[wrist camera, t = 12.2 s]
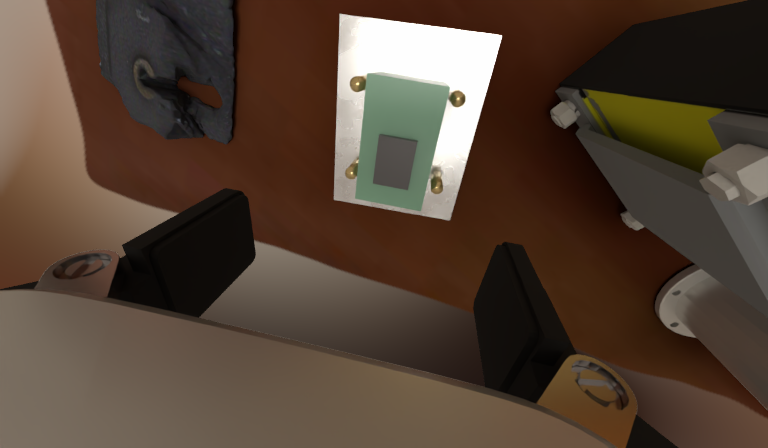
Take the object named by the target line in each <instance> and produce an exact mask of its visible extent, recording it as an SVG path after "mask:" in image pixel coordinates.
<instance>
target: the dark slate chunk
mask: <svg viewBox="0 0 768 448" xmlns="http://www.w3.org/2000/svg"><path fill="white" fill-rule="evenodd" d="M232 5H233V0H96V9H97V12H96V21H97V28H98V46H99V56H100V59H101V62H100V68H101V74H102V75H103V76H104V77H105V78H106V79H107V80H108V81H109V82H111V83H112V84H113V85H114V86H115V87H116V88H117V89H118V91H119V93H120V95H121V96H122V100H123V103H124V105H125V106H126V108H127V110H128V111H129V113H130V116H131V117H132V118H133V119H134V120H136V121H137V122H139V123H140V124H144V125H146V126H149V127H151V128H153V129H154V130H155V131H156V132H157V133H159V134H160V135H161V136H163V137H164V138H165V139H179V138H192V137H200V138H201V137H203V134H204V133H206V135H207V136H208V137H209V138H210V139H215V140H216V141H218V142H223V143H224V144H227V143H228V142H229V141H230V140H231V139H232V135H231V133H232V113H233V97H234V87H235V84H234V81H233V79H234V77H235V72H234V71H235V70H234V67H235V66H234V63H235V60H234V55H233V53H234V48H233V26H234V19H233V15H232V13H233V11H232ZM181 76H186V77H187V78H188V79H189V80H190V81H192V82H197V83H200V84H203V85H210V86H214V87H215V89H216V90H217V91H218V93H219V95H220V96H221V98H222V102H223V105H222V106H221V108H214V107H212V106H209V105H207V104H205V103H203V102H202V101H201V100H200V99H198V98H196V97H191V98H190V96H189V95H188V94H187V93H185V92H183V91H181V90H179V89H178V87H177V86H176V84H178V82H177V81H179V79H180V77H181ZM202 130H203V131H202Z"/></svg>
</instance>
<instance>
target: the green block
mask: <svg viewBox="0 0 768 448" xmlns="http://www.w3.org/2000/svg"><path fill="white" fill-rule="evenodd" d="M449 91H450V86H449V85H448V84H447V83H446V82H441V81H435V80H429V79H423V78H417V77H411V76H405V75H399V74H393V73H387V72H373V73H367V78H366V88H365V99H364V109H363V120H362V130H361V141H360V151H359V162H358V172H357V182H356V193H355V199H359V200H364V201H369V202H375V203H380V204H385V205H390V206H395V207H400V208H405V209H410V210H416V211H421V209H422V205H423V200H424V196H425V192H426V188H427V184H428V179H429V175H430V171H431V167H432V163H433V158H434V154H435V150H436V146H437V142H438V137H439V133H440V129H441V125H442V121H443V116H444V112H445V108H446V104H447V100H448V95H449Z"/></svg>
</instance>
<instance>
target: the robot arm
mask: <svg viewBox="0 0 768 448" xmlns="http://www.w3.org/2000/svg"><path fill="white" fill-rule="evenodd" d="M122 246H123V249H124V251H125V253H126V255H125V256H124V257H122V258H120V257H119V255H118V254H117V253H116V252H114V251H111V250H90V251H86V252H81V253H77V254H74V255H71V256H68V257H66V258H64V259H61V260H59V261H57V262H56V263H54V264H53V265H51V266H50V267H49V268H48V269H47V270H46V271H45V272H44V274H43V275H42V277H41V278H40V280H39V281H37V282H32V283H27V284H23V285H18V286H13V287H9V288H4V289H0V448H678V447H677V446H675V445H674V444H673V443H672V442H670V441H669V440H668V439H666V438H665V437H664V436H662V435H661V434H660V433H659V432H657V431H656V430H655V429H654V428H652V427H651V426H650V425H649V424H647V423H646V422H645V421H644V420H642V419H641V418H640V417H639V416H637V415H636V413H637V401H636V399H635V396H634V393H633V392H632V390H631V389H630V387H629V386H628V384H627V383H626V382H625V381H624V380H623V379H622V378H621V377H620V376H619V375H618V374H617V373H616V372H615V371H613V370H612V369H611V368H610V367H608V366H607V365H605V364H603V363H602V362H600V361H598V360H596V359H594V358H591V357H589V356H584V355H578V354H576V352H575V350H574V348H573V346H572V343H571V341H570V339H569V337H568V335H567V333H566V331H565V329H564V327H563V325H562V323H561V321H560V319H559V317H558V315H557V313H556V311H555V309H554V307H553V305H552V303H551V301H550V299H549V297H548V295H547V293H546V291H545V289H544V288H543V286H542V284H541V282H540V280H539V278H538V276H537V274H536V272H535V270H534V268H533V266H532V264H531V262H530V260H529V258H528V256H527V254H526V252H525V249H524V247H523V246H522V245H519V244H513V243H508V242H504V243H503V244H502V245H497V246H496V248H495V250H494V253H493V255H492V258H491V260H490V263H489V265H488V268H487V270H486V273H485V275H484V278H483V280H482V283H481V285H480V288H479V290H478V293H477V295H476V298H475V300H474V316H475V322H476V329H477V336H478V342H479V348H480V356H481V362H482V369H483V375H484V382H485V387H482V386H478V385H474V384H470V383H467V382H463V381H459V380H455V379H451V378H447V377H444V376H440V375H436V374H432V373H428V372H424V371H420V370H416V369H412V368H407V367H403V366H399V365H395V364H391V363H387V362H383V361H379V360H374V359H371V358H367V357H362V356H358V355H354V354H350V353H346V352H342V351H337V350H333V349H329V348H325V347H321V346H317V345H312V344H308V343H304V342H300V341H296V340H292V339H287V338H283V337H279V336H275V335H270V334H266V333H262V332H258V331H254V330H249V329H245V328H241V327H237V326H232V325H228V324H224V323H219V322H215V321H211V320H206V319H202V318H199V317H200V316H201V315H202V314H203V313H204V312H205V311H206V310H207V309H208V308H209V307H210V306H211V304H212V303H213V302H214V301H215V300H216V299H217V298H218V297H219V296H220V295H221V294H222V293H223V292H224V291H225V290H226V289H227V288H228V287H229V286H230V285H231V284H232V283H233V282H234V281H235V279H237V278H238V277H239V275H241V273H242V272H243V271H244V270H245V269H246V268H247V267H248V266H249V265H250V264H251V263H252V262H253V261H254V259H255V255H256V254H255V245H254V238H253V231H252V223H251V216H250V209H249V202H248V198H247V197H246V196H245V195H244V193H243V192H242V191H238V190H233V189H227V188H225V189H223V190H221V191H219V192H217V193H216V194H214V195H212V196H210V197H208V198H206V199H205V200H203V201H201V202H199V203H197V204H196V205H194V206H192V207H190V208H188V209H187V210H185V211H183V212H181V213H179V214H177V215H176V216H174V217H172V218H170V219H168V220H167V221H165V222H163V223H161V224H159V225H158V226H156V227H154V228H152V229H151V230H148V231H147V232H145V233H143V234H141V235H140V236H138V237H136V238H134V239H132V240H130V241H129V242H127V243H125V244H123V245H122ZM655 311H656V314H657V316H658V318H659V319H660V320H661V321H662V323H663V324H664V325H665V326H666V327H667V328H669V329H670V330H672V331H674V332H675V333H678V334H681V335H684V336H689V337H694V338H697V339H698V340H699V341H700V342H701V343H702V344H703V345H704V346H705V347H706V348H707V349H708V350H709V351H710V352H711V353H712V354H713V355H714V356H715V357H716V358H717V359H718V360H719V361H720V362H721V363H722V364H723V365H724V366H725V367H726V368H727V369H728V370H729V371H730V372H731V373H732V374H733V375H734V376H735V377H736V378H737V379H738V380H739V381H740V382H741V383H742V384H743V386H744V387H745V388H746V389H747V390H748V391H749V392H750V393H751V394H752V395H753V396H754V397H755V398H756V399H757V400H758V401H759V402H760V403H761V404H762V405H763V406H764V407H765V408H766V409H767V410H768V318H767V317H765V316H764V315H763V314H761V313H760V312H759V311H757V310H756V309H755V308H753V307H752V306H751V305H749V304H748V303H747V302H745V301H744V300H743V299H741V298H740V297H739V296H737V295H736V294H735V293H733V292H732V291H731V290H729V289H728V288H726V287H725V286H724V285H722V284H721V283H720V282H718V281H717V280H716V279H714V278H713V277H712V276H710V275H709V274H708V273H706V272H705V271H704V270H702V269H701V268H700V267H698V266H697V265H696V264H695V265H693V266H690V267H688V268H687V269H685V270H683V271H681V272H680V273H678V274H677V275H676V276H674V277H673V278H672V279H670V280H669V281H668V282H667V283H666V284H665V285H664V286H663V288H662V289H661V291H660V292H659V294H658V295H657V298H656V301H655Z"/></svg>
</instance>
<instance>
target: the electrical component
mask: <svg viewBox="0 0 768 448" xmlns="http://www.w3.org/2000/svg"><path fill="white" fill-rule="evenodd" d="M560 86H561V87H560V88H559V89H557V90H556V91H555V92H556V93H557V95H558V96H559V98H560V99H561V101H562V102H561V103H560V104H558V105H557V106H556V107H554V108H553V109H552V110H551V111H550V114H551V118H552V120H553V121H554V122H555V123H556V125H558V126H560V127H562V128H564V129H566V128H567V127H568V126H570V125H571V124H572V123H574V122H576V123H577V125H578V126H579V129H578V131H577V132H576V135H577V137H578V138H579V140H580V141H581V143H582V144H583V146H584V147H585V149H586V150H587V151H588V153H589V154H590V156H591V157H592V159H593V160H594V162H595V163H596V165H597V166H598V168H599V169H600V170H601V172H602V173H603V175H604V176H605V178H606V179H607V181H608V182H609V184H610V185H611V187H612V188H613V190H614V191H615V192H616V194H617V195H618V197H619V198H620V200H621V201H622V203H623V204H624V206H625V207H626V209H627V211H625V212H623V213H621V216H622V220H623V221H624V222H625V224H626V225H627V226H629V227H630V228H633V229H634V230H639V229H641V228H643V227H646V228H647V229H649V230H650V231H651V232H653V233H654V234H656V235H657V236H658V237H660V238H661V239H662V240H664V241H665V242H666V243H668V244H669V245H670V246H672V247H673V248H674V249H676V250H677V251H678V252H680V253H681V254H682V255H684V256H685V257H686V258H688V259H689V260H690V261H692V262H693V263H694V264H696V265H697V266H698V267H700V268H701V269H702V270H704V271H705V272H706V273H708V274H709V275H710V276H712V277H713V278H714V279H716V280H717V281H718V282H720V283H721V284H722V285H724V286H725V287H726V288H728V289H729V290H731V291H732V292H733V293H735V294H736V295H737V296H739V297H740V298H741V299H743V300H744V301H745V302H747V303H748V304H749V305H751V306H752V307H753V308H755V309H756V310H757V311H759V312H760V313H761V314H763V315H764V316H765V317H767V318H768V0H748V1H743V2H738V3H734V4H729V5H724V6H719V7H715V8H710V9H705V10H701V11H696V12H691V13H686V14H682V15H677V16H672V17H668V18H663V19H658V20H653V21H649V22H644V23H639V24H635V25H632V26H631V27H630V28H629V29H627V30H626V31H625V32H624V33H622V34H621V35H620V36H619V37H617V38H616V39H615V40H614V41H612V42H611V43H610V44H609V45H607V46H606V47H605V48H604V49H602V50H601V51H600V52H599V53H597V54H596V55H595V56H594V57H592V58H591V59H590V60H589V61H587V62H586V63H585V64H584V65H582V66H581V67H580V68H579V69H577V70H576V71H575V72H574V73H572V74H571V75H570V76H569V77H567V78H566V79H565V80H564V81H562V82H561V83H560Z"/></svg>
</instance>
